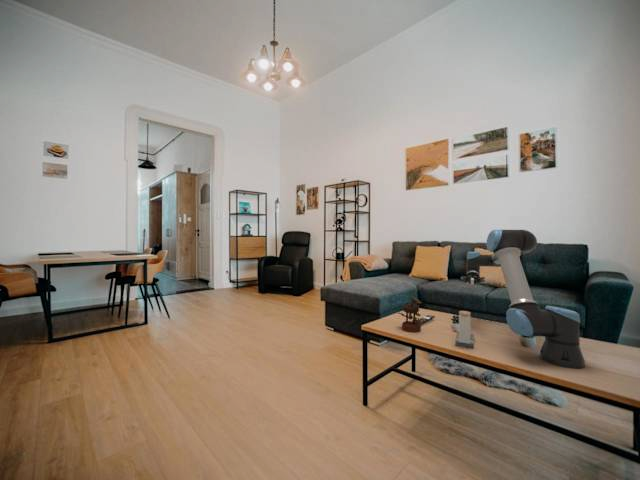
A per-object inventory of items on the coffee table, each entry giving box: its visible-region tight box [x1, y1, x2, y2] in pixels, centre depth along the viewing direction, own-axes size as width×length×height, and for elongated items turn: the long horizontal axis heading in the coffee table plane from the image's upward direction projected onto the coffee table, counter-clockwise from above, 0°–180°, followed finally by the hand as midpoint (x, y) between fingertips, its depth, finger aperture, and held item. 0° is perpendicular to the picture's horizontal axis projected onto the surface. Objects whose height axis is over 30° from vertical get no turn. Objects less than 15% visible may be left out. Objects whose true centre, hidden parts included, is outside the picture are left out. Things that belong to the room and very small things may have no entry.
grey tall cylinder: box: [458, 310, 472, 344], centre depth 142 cm, size 5×5×15 cm
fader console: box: [454, 331, 475, 350], centre depth 148 cm, size 18×8×2 cm, turn 151°
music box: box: [397, 295, 423, 334], centre depth 167 cm, size 15×11×20 cm
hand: (472, 281), depth 156 cm, fingers closed
